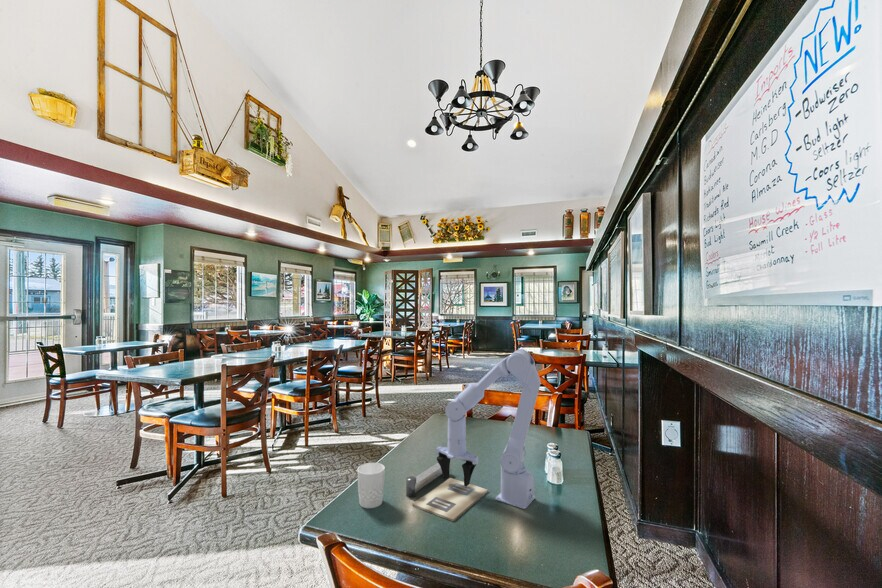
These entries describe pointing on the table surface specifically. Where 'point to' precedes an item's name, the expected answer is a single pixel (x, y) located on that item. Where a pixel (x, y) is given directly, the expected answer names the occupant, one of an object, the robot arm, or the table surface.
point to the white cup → (370, 484)
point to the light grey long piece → (422, 480)
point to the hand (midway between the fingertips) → (456, 481)
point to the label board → (450, 499)
